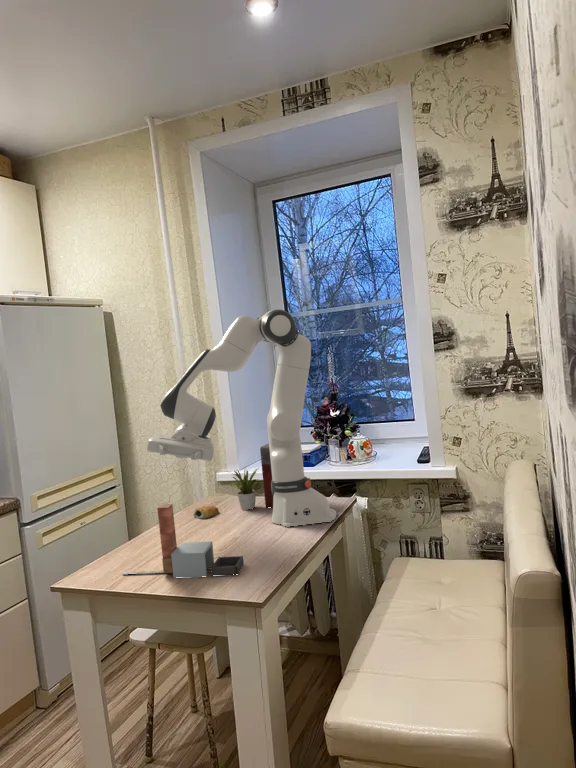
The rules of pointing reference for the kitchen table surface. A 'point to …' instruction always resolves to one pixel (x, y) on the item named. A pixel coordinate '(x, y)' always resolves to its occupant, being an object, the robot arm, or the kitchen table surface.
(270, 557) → the kitchen table surface
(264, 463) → the toy vending machine
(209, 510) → the pastry
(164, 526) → the upright post on base
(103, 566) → the kitchen table surface
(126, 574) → the rail
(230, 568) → the dark grey tray
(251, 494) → the house plant
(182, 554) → the tunnel
